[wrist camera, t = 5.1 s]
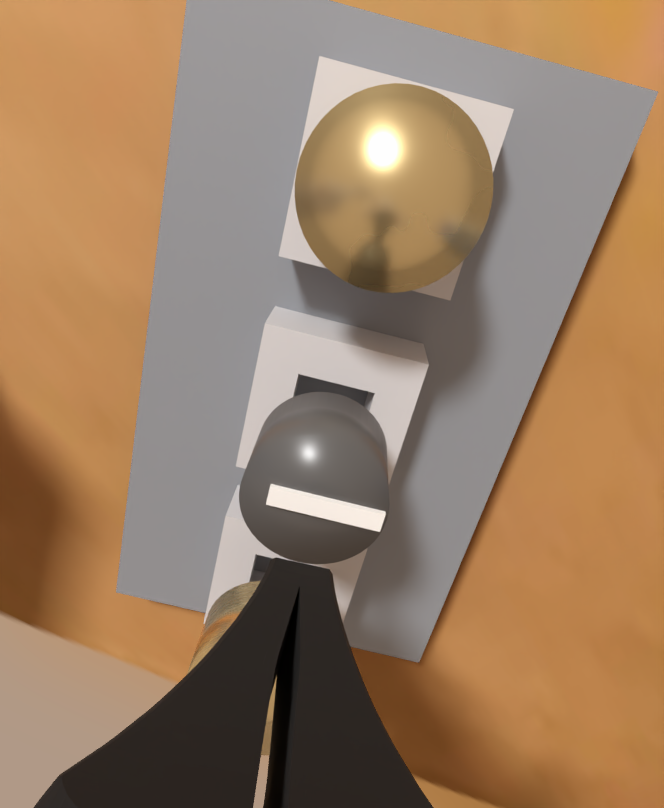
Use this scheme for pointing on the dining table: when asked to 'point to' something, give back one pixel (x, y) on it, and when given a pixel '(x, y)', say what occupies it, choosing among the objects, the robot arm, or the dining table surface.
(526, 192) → the mount
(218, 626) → the knob
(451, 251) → the knob
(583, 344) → the dining table surface
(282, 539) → the pot knob
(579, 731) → the dining table surface
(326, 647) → the robot arm
